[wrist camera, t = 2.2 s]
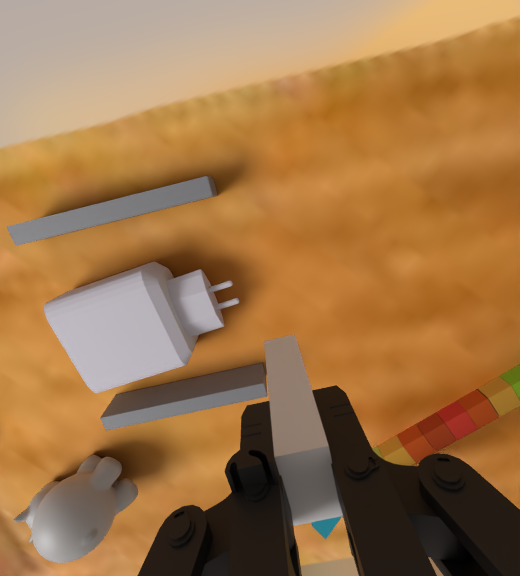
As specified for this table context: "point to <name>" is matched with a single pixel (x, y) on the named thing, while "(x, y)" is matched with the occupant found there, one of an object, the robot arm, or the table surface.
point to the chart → (446, 427)
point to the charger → (135, 323)
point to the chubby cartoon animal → (78, 509)
